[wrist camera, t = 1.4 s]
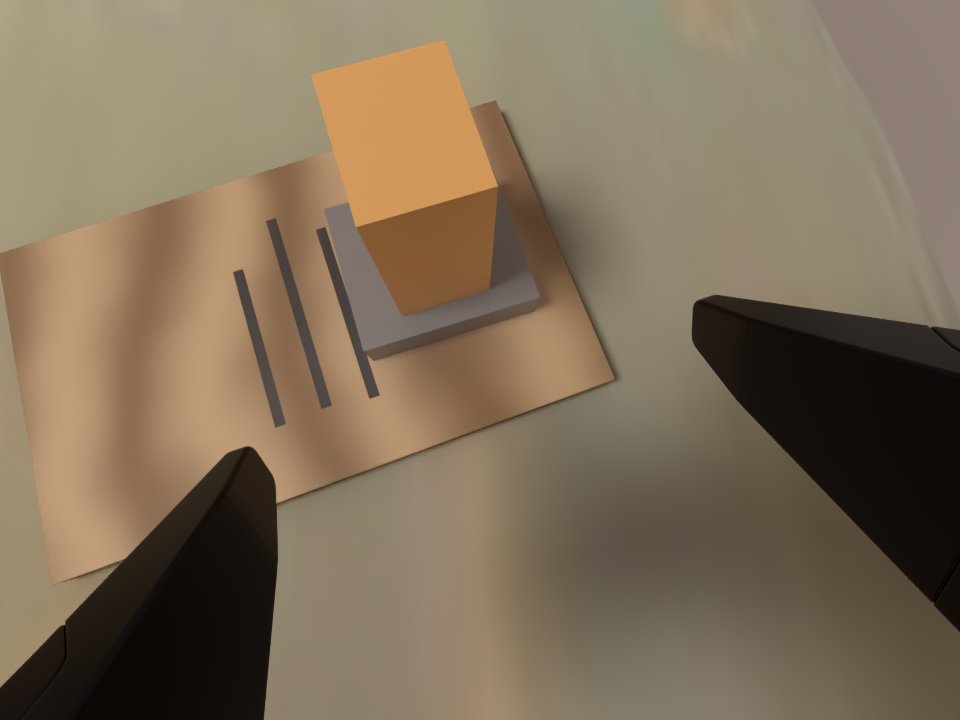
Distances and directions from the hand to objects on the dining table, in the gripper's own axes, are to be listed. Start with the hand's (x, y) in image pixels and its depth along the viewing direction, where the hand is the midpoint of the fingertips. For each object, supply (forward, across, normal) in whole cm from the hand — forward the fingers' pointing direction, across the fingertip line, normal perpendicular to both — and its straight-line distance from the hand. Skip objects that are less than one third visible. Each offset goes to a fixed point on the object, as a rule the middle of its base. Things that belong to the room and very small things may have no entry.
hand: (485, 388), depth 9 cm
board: (+15, +6, +4) cm, 17 cm away
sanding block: (+14, 0, +3) cm, 15 cm away
